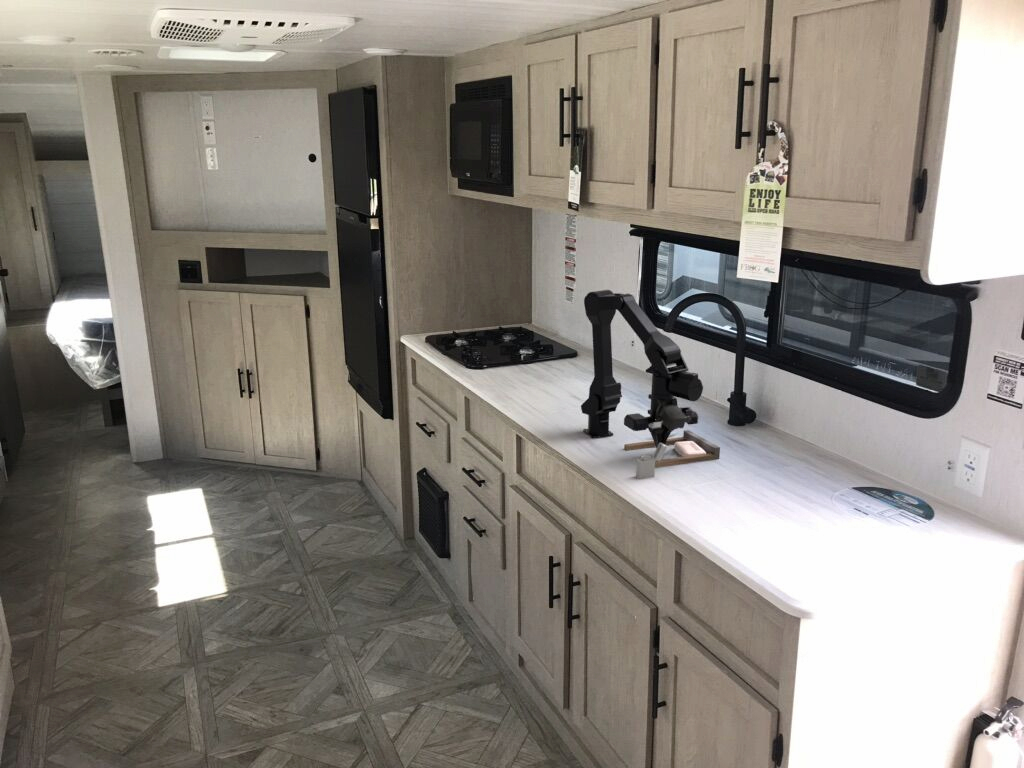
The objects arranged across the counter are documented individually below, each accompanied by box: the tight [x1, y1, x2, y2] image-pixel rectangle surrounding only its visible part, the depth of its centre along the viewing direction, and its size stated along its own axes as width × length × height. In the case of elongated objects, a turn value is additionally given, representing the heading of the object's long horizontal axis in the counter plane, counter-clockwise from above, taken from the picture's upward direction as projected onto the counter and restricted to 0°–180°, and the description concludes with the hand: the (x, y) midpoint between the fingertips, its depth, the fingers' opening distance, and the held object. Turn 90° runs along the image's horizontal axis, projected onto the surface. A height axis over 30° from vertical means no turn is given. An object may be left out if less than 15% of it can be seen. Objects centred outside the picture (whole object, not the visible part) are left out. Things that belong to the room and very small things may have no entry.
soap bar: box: [673, 441, 706, 457], centre depth 222 cm, size 5×9×2 cm, turn 10°
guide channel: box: [623, 429, 721, 469], centre depth 222 cm, size 15×19×3 cm
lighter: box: [635, 443, 668, 479], centre depth 206 cm, size 7×2×8 cm, turn 107°
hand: (659, 450), depth 221 cm, fingers closed
